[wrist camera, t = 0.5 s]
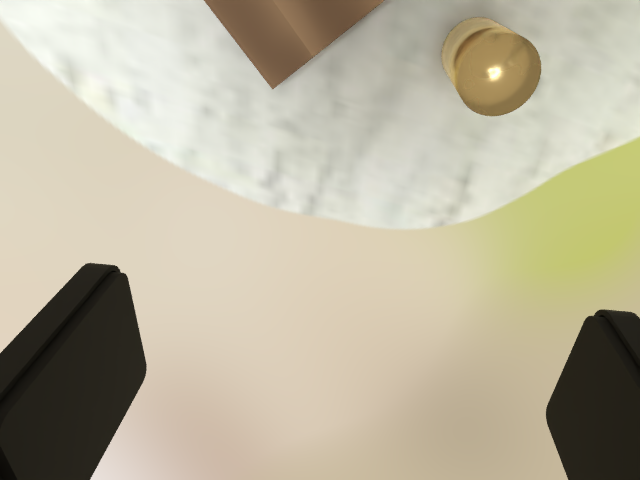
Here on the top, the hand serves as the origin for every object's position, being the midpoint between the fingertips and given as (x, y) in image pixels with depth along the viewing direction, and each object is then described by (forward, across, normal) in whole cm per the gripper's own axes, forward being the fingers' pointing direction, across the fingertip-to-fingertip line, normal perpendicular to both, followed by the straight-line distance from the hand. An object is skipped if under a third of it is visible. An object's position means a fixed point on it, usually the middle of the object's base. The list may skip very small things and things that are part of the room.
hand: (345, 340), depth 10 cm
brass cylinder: (+25, -7, -2) cm, 26 cm away
